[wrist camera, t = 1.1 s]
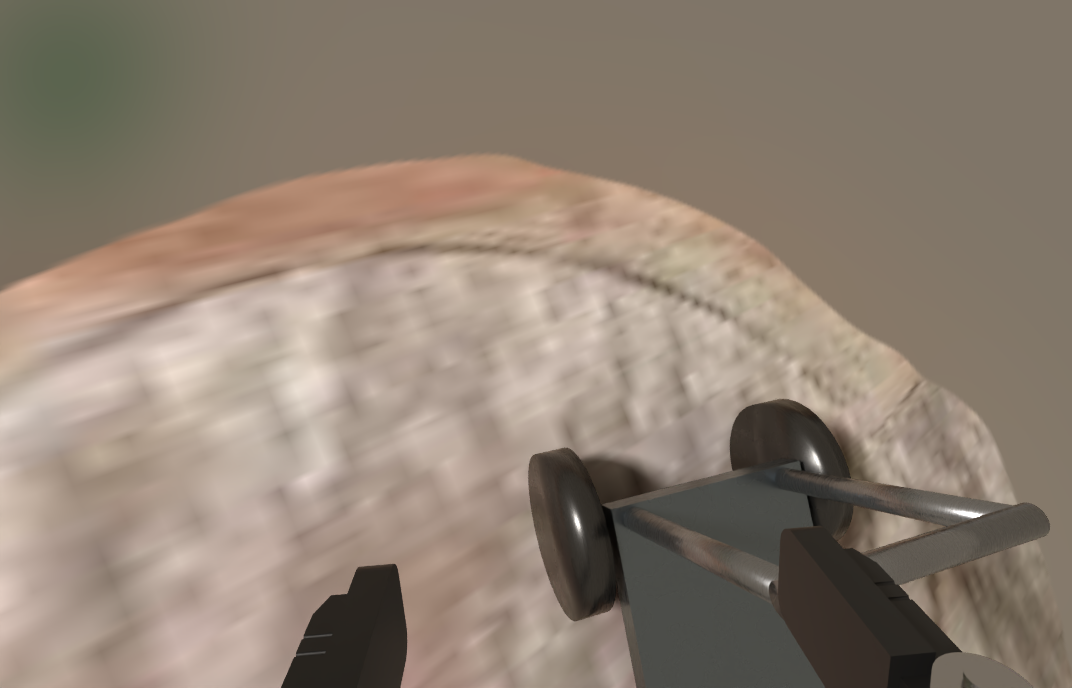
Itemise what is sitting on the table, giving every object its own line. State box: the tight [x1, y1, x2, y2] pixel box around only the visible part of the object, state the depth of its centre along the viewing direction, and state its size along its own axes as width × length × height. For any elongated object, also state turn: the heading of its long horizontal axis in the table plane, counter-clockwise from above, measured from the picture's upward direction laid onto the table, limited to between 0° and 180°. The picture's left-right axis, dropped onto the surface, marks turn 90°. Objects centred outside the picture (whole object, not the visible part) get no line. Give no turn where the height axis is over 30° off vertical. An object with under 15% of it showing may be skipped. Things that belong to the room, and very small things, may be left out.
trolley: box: [528, 399, 1050, 688], centre depth 39 cm, size 32×21×29 cm
